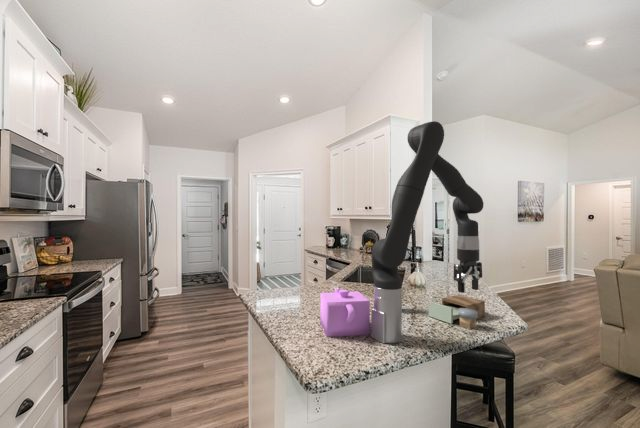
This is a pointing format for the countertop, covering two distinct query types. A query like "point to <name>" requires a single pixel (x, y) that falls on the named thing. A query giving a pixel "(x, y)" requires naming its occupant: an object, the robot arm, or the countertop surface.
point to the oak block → (467, 323)
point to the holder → (465, 303)
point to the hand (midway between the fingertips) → (468, 290)
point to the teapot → (344, 313)
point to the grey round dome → (468, 313)
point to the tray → (443, 312)
